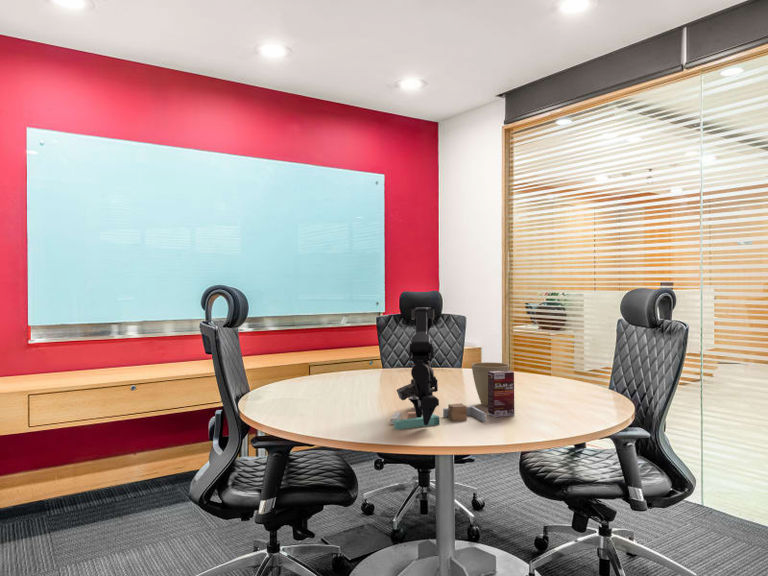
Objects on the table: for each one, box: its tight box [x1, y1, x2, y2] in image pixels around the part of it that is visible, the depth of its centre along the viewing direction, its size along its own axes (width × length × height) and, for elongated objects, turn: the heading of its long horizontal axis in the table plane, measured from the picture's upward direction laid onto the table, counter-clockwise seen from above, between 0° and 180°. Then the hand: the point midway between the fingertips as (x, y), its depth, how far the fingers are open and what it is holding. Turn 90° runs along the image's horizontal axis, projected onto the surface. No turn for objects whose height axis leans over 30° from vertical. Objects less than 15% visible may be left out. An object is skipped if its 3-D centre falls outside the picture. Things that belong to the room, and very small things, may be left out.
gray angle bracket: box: [442, 405, 486, 422], centre depth 192 cm, size 12×12×3 cm
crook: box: [393, 413, 440, 430], centre depth 186 cm, size 9×16×3 cm, turn 112°
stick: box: [389, 411, 402, 424], centre depth 191 cm, size 2×10×2 cm, turn 169°
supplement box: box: [487, 370, 515, 418], centre depth 197 cm, size 9×5×16 cm, turn 106°
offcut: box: [406, 411, 417, 419], centre depth 193 cm, size 2×4×2 cm, turn 102°
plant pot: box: [471, 362, 510, 407], centre depth 215 cm, size 15×15×16 cm
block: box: [447, 402, 468, 422], centre depth 192 cm, size 5×5×5 cm
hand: (422, 422), depth 184 cm, fingers open, 8 cm apart
